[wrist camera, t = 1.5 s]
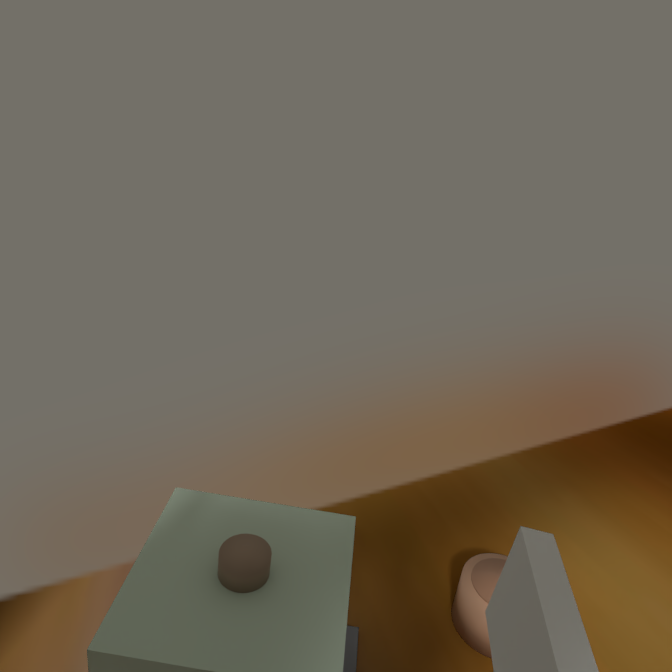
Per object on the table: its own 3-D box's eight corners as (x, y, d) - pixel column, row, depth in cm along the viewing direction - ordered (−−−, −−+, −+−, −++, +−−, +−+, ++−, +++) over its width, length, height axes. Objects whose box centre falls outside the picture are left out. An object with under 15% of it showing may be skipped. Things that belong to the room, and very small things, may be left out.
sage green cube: (333, 644, 35) (358, 499, 31) (312, 839, 26) (345, 672, 21) (173, 617, 35) (176, 469, 31) (97, 800, 26) (85, 628, 22)
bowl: (497, 581, 42) (510, 543, 41) (552, 646, 37) (568, 606, 36) (435, 601, 40) (445, 562, 38) (486, 673, 35) (500, 631, 34)
